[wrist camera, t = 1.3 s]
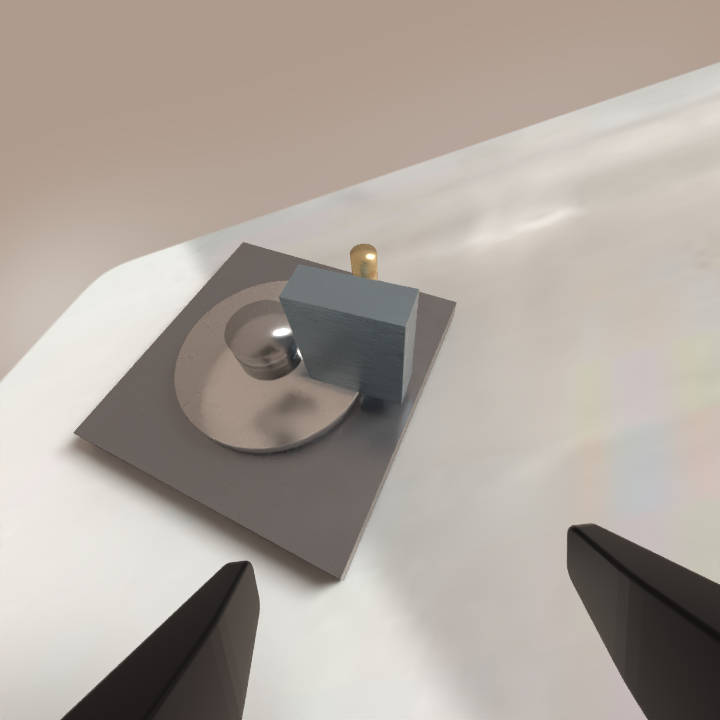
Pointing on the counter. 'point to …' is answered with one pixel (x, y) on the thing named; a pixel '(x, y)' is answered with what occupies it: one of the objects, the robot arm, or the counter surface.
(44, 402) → the counter surface
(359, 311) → the flange
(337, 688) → the counter surface
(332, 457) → the locating plate
